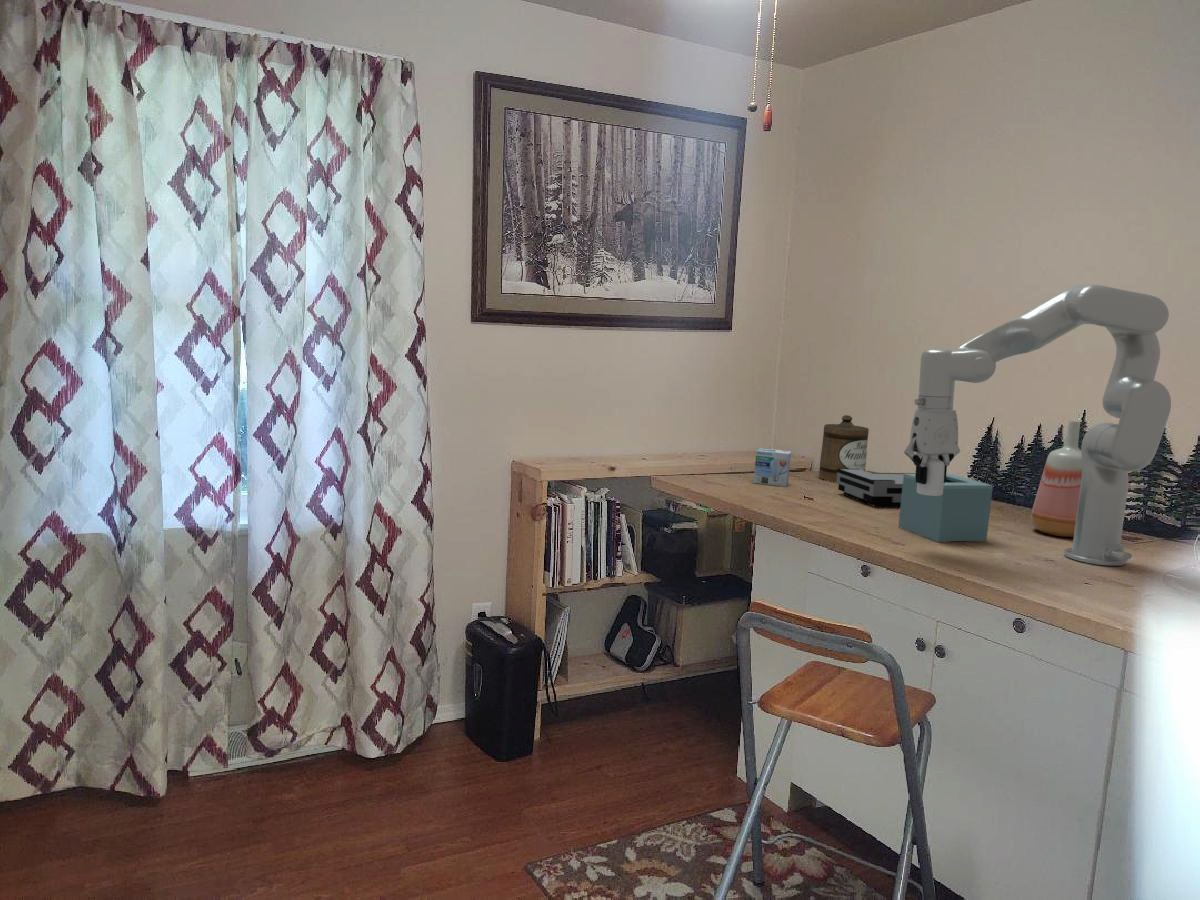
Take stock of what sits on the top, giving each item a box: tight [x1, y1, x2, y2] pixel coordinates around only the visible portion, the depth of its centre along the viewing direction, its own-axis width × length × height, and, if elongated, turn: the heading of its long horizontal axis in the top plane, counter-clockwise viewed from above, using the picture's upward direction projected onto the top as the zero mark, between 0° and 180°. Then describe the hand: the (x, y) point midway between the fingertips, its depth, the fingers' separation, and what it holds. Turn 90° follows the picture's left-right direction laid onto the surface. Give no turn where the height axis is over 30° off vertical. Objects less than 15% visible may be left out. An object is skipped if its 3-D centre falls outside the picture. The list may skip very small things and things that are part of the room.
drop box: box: [898, 473, 994, 543], centre depth 224 cm, size 16×14×14 cm
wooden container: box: [818, 414, 870, 483], centre depth 301 cm, size 15×15×22 cm
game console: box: [835, 468, 916, 508], centre depth 269 cm, size 21×32×8 cm, turn 104°
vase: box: [1030, 420, 1082, 538], centre depth 231 cm, size 14×14×30 cm
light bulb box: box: [753, 447, 792, 488], centre depth 286 cm, size 11×7×11 cm, turn 73°
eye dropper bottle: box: [917, 454, 945, 496], centre depth 206 cm, size 4×6×12 cm
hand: (930, 481), depth 206 cm, fingers closed on eye dropper bottle, 4 cm apart
